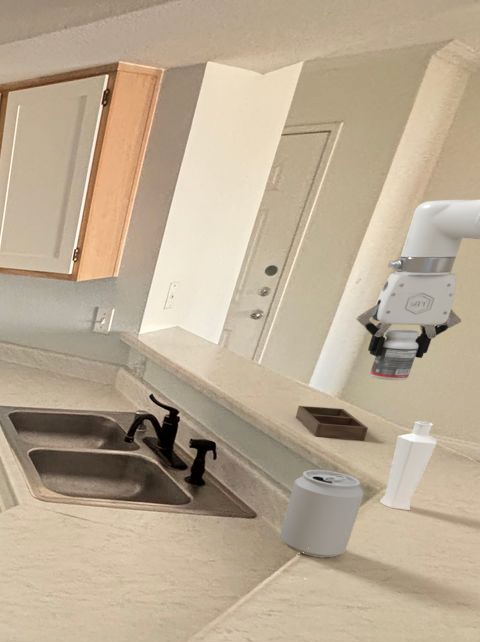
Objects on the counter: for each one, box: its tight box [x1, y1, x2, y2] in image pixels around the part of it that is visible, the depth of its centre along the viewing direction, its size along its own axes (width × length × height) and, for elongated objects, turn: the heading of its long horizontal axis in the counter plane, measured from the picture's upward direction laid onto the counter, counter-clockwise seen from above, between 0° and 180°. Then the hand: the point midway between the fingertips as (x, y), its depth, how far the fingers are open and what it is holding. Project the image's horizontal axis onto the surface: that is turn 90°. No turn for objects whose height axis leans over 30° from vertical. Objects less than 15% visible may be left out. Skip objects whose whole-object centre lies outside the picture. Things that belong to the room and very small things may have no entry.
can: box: [279, 469, 365, 559], centre depth 88 cm, size 8×8×12 cm
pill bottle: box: [369, 328, 420, 381], centre depth 123 cm, size 6×6×10 cm
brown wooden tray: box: [295, 405, 369, 441], centre depth 139 cm, size 8×16×3 cm, turn 151°
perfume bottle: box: [379, 420, 438, 511], centre depth 99 cm, size 5×4×15 cm
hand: (395, 354), depth 123 cm, fingers closed on pill bottle, 5 cm apart
